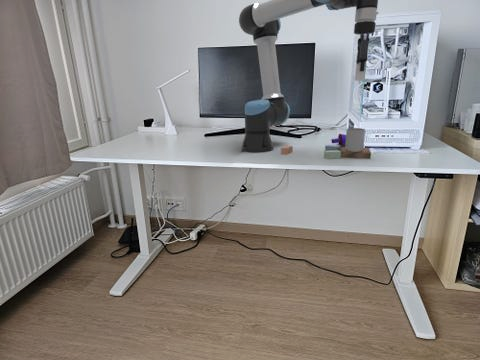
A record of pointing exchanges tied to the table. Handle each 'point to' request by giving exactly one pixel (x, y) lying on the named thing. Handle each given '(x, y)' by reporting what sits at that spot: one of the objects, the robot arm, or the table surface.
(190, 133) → the table surface
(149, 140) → the table surface
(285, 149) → the brick terracotta
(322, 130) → the table surface
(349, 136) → the cup
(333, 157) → the brick sage
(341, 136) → the toy
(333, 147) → the brick blue
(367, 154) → the slab
